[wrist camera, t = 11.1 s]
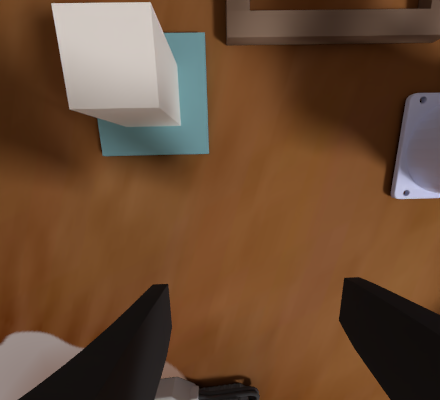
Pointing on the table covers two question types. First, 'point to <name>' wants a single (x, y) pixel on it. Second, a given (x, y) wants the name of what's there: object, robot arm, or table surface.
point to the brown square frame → (331, 25)
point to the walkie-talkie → (203, 391)
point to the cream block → (117, 63)
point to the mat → (189, 110)
